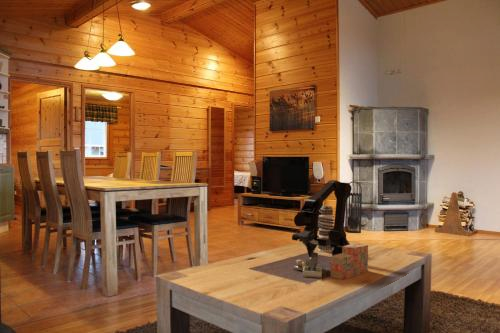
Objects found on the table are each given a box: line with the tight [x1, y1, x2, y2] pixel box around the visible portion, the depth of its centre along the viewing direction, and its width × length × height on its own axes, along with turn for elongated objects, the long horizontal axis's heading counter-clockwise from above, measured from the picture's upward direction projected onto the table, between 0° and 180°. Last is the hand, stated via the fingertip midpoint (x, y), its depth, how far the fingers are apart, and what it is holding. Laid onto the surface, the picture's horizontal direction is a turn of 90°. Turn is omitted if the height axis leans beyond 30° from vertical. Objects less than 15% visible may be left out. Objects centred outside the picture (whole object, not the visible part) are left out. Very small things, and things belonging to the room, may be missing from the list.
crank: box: [295, 251, 319, 267], centre depth 203 cm, size 11×3×5 cm, turn 114°
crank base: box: [292, 262, 306, 272], centre depth 201 cm, size 6×6×4 cm
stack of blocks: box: [330, 242, 369, 280], centre depth 195 cm, size 21×6×12 cm, turn 135°
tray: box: [302, 266, 323, 279], centre depth 193 cm, size 8×8×2 cm
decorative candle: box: [317, 205, 335, 253], centre depth 244 cm, size 9×9×25 cm
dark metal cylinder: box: [307, 256, 318, 271], centre depth 193 cm, size 4×4×7 cm
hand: (310, 257), depth 207 cm, fingers closed
